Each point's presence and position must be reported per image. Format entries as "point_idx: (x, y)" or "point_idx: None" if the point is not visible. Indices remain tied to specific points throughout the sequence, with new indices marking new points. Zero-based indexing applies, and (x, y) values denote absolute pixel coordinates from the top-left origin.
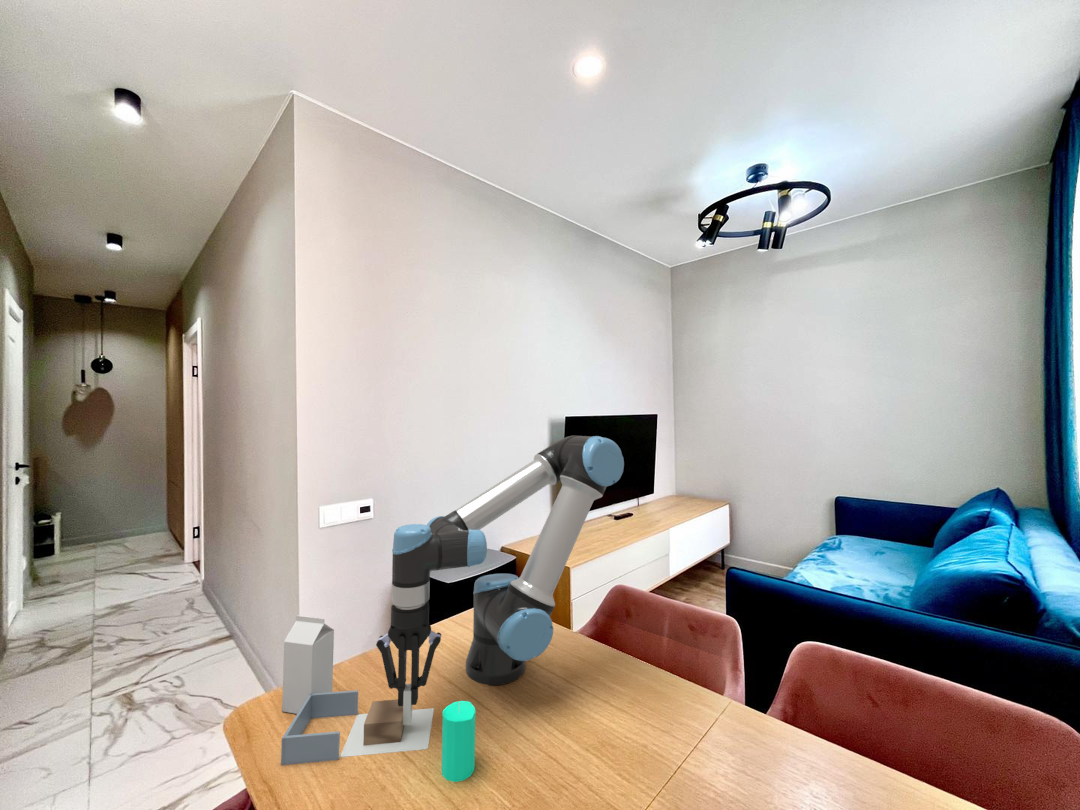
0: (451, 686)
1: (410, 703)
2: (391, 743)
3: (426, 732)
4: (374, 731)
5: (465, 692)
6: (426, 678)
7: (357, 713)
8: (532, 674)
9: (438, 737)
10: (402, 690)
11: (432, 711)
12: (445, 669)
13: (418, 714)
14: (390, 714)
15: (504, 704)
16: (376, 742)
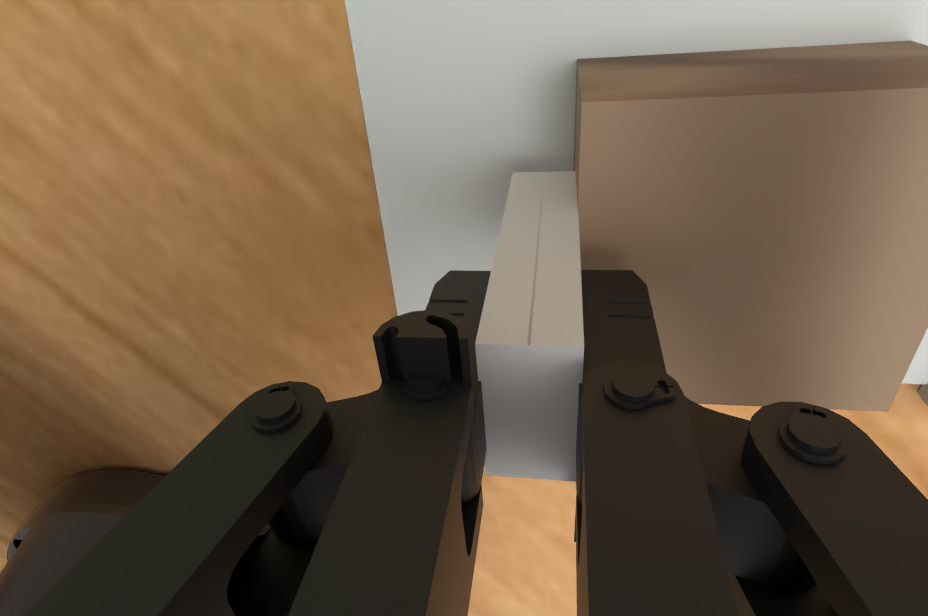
0: None
1: (496, 259)
2: (655, 45)
3: (397, 150)
4: (858, 68)
5: None
6: (194, 466)
7: (925, 392)
8: (5, 501)
9: (304, 103)
10: (602, 365)
11: None
12: None
13: None
14: (709, 220)
15: (26, 341)
16: (793, 50)
